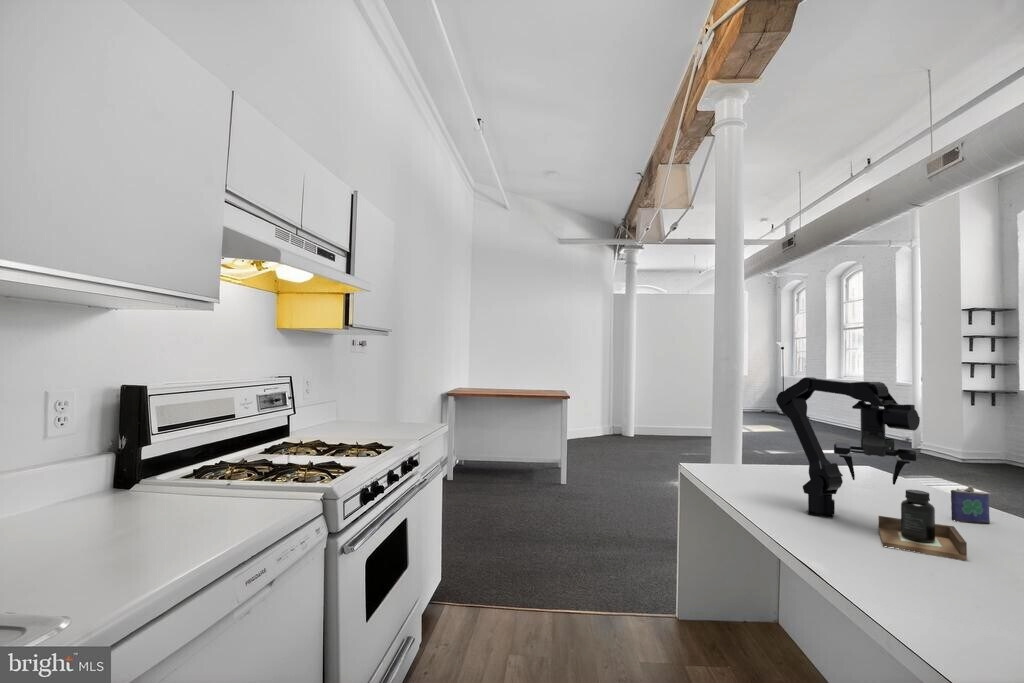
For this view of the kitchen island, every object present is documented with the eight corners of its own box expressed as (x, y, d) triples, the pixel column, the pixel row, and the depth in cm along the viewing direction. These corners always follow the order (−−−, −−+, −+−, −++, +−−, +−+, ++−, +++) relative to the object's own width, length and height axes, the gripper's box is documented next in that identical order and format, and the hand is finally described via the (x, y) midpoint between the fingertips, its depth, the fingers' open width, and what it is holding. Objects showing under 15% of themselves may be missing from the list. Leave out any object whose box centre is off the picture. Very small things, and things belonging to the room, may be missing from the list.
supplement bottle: (911, 533, 136) (911, 487, 137) (941, 542, 130) (940, 493, 130) (895, 536, 133) (894, 489, 134) (924, 545, 127) (924, 496, 128)
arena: (883, 546, 129) (882, 529, 129) (878, 531, 142) (878, 515, 142) (966, 560, 121) (966, 542, 121) (954, 542, 134) (953, 526, 134)
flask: (986, 522, 153) (985, 485, 153) (992, 525, 150) (992, 488, 150) (949, 519, 155) (948, 483, 156) (954, 522, 152) (954, 485, 153)
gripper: (833, 426, 143) (834, 482, 142) (918, 431, 133) (919, 492, 133) (833, 422, 153) (834, 475, 152) (913, 427, 143) (913, 484, 142)
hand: (873, 482), depth 144 cm, fingers open, 9 cm apart
